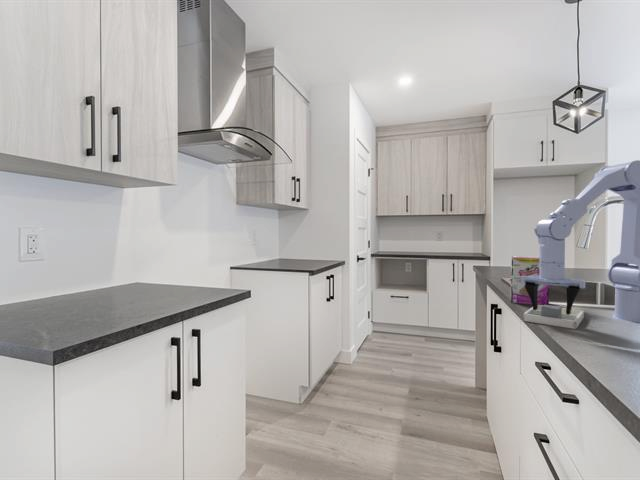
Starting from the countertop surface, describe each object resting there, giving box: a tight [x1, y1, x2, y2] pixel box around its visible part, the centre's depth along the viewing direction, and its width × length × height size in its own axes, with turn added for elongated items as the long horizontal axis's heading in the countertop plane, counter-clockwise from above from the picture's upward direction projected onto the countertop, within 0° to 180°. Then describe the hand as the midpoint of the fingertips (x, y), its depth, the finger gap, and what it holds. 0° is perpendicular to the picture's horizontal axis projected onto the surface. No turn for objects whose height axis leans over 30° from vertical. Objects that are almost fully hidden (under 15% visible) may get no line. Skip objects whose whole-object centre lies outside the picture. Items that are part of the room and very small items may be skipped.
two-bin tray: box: [522, 305, 585, 330], centre depth 97 cm, size 15×12×2 cm
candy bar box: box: [510, 255, 550, 305], centre depth 117 cm, size 11×5×16 cm, turn 62°
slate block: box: [541, 305, 562, 319], centre depth 95 cm, size 4×4×4 cm
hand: (551, 311), depth 94 cm, fingers open, 7 cm apart
